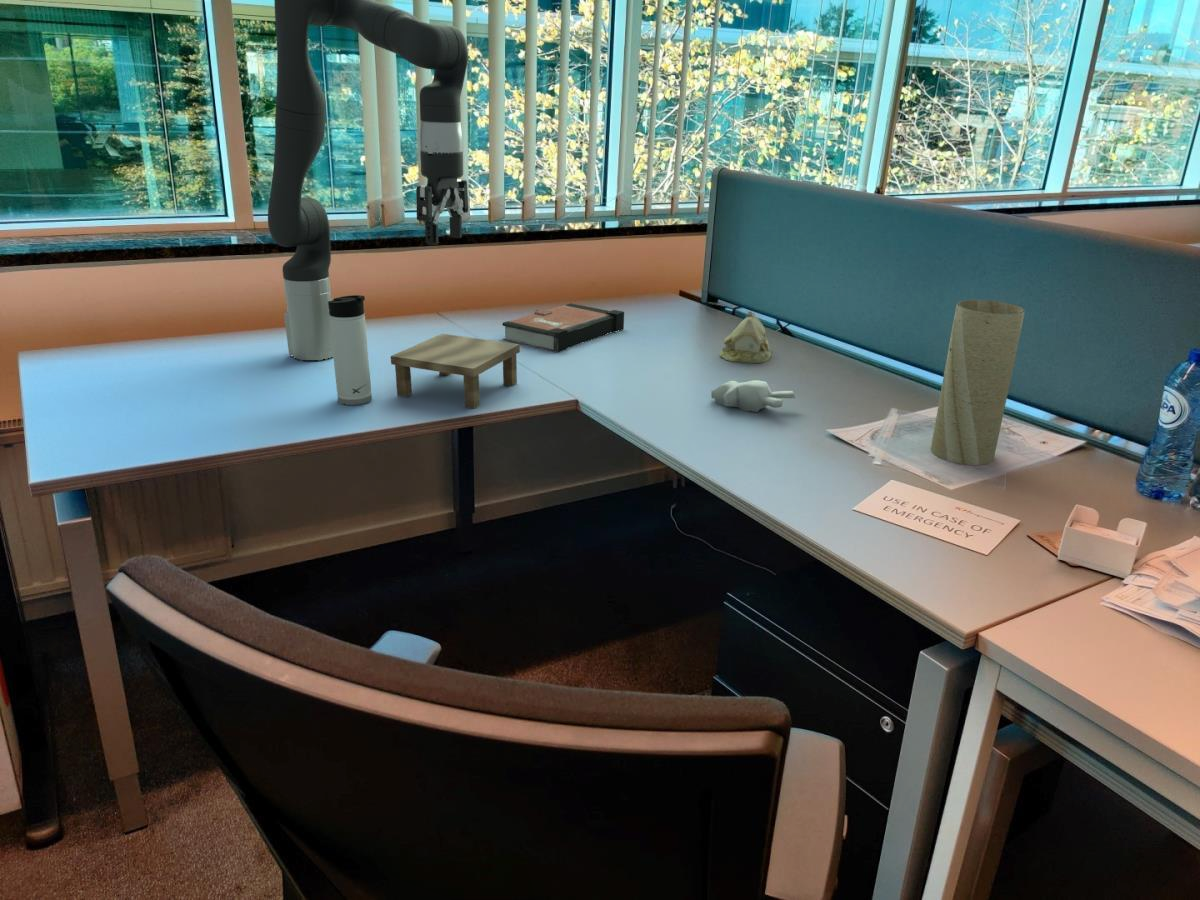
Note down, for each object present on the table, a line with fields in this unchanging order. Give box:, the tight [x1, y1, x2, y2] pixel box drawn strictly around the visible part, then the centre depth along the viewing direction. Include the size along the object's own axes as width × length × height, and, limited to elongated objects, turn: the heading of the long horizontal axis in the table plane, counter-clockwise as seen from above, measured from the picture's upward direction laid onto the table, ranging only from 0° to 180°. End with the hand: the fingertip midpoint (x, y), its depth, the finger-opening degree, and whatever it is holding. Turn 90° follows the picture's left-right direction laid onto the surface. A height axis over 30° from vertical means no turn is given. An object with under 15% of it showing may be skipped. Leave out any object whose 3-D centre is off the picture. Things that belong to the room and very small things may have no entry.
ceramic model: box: [719, 311, 771, 364], centre depth 197 cm, size 14×11×10 cm
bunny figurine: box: [710, 379, 796, 413], centre depth 164 cm, size 10×5×15 cm
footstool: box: [390, 333, 521, 410], centre depth 170 cm, size 18×18×8 cm
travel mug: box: [328, 294, 373, 406], centre depth 161 cm, size 6×7×20 cm
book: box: [502, 303, 625, 353], centre depth 211 cm, size 26×18×5 cm
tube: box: [930, 299, 1026, 466], centre depth 141 cm, size 10×10×25 cm
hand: (444, 241), depth 161 cm, fingers open, 8 cm apart
